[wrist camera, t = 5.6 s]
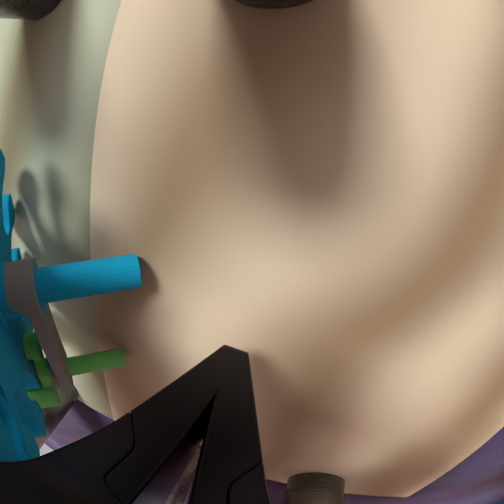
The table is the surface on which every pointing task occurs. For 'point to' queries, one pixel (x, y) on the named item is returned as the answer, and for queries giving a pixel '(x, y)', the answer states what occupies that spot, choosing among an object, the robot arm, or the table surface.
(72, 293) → the gear
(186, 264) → the board
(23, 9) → the spacer posts
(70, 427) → the table surface
